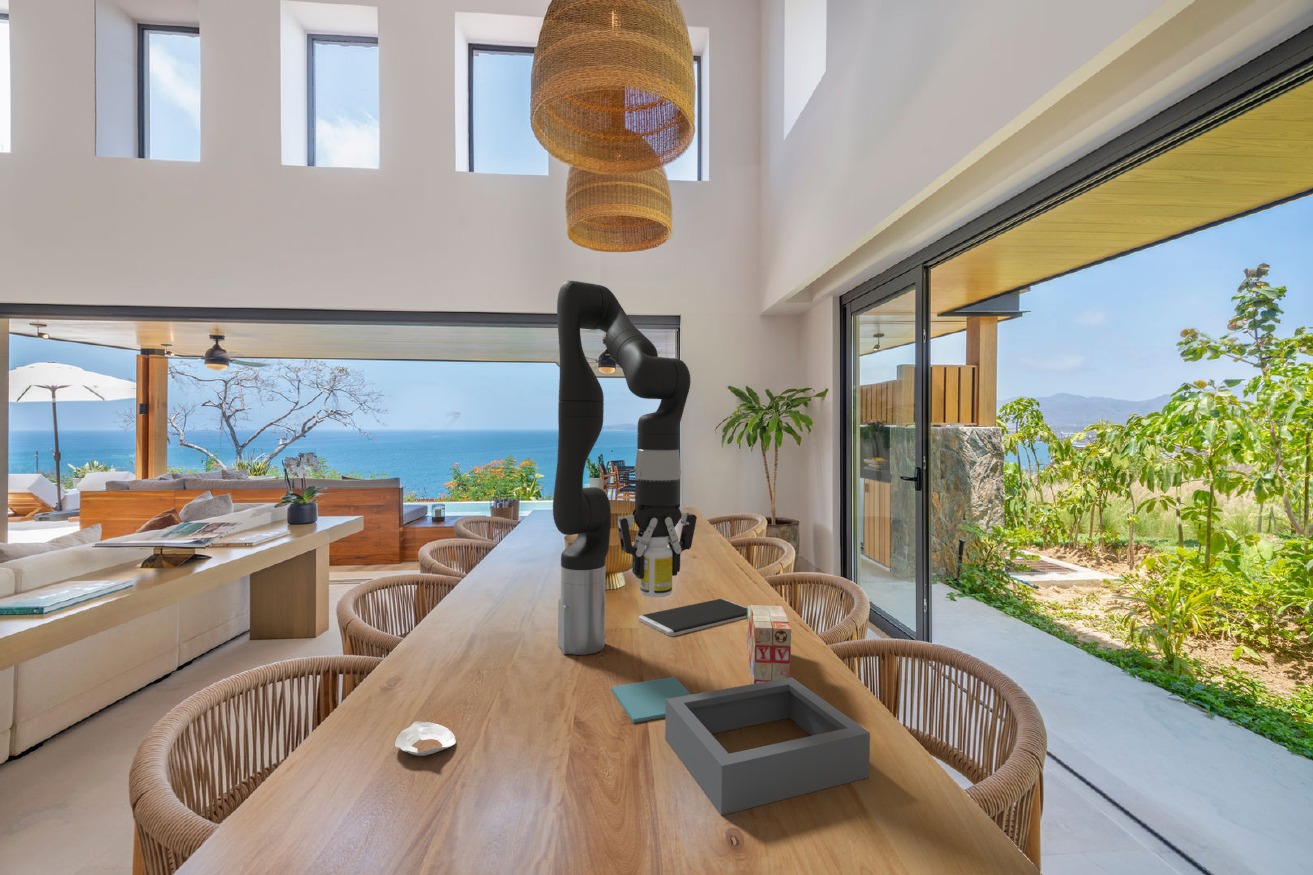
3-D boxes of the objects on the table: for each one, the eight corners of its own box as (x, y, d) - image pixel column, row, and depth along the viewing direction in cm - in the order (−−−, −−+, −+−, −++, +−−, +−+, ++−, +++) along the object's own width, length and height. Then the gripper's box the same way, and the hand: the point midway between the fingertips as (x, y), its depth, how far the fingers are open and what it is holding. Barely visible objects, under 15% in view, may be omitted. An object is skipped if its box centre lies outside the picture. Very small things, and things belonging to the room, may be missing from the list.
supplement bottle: (676, 590, 100) (677, 534, 100) (666, 599, 95) (667, 539, 95) (646, 587, 102) (647, 531, 102) (635, 595, 97) (636, 537, 96)
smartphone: (758, 617, 144) (758, 610, 144) (670, 639, 128) (670, 631, 128) (721, 603, 154) (721, 597, 154) (636, 622, 139) (637, 614, 139)
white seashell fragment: (403, 773, 77) (405, 753, 77) (386, 739, 86) (387, 721, 87) (464, 758, 81) (465, 739, 81) (441, 727, 91) (441, 710, 91)
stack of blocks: (746, 649, 122) (747, 590, 121) (776, 650, 121) (777, 591, 121) (753, 696, 100) (754, 626, 100) (790, 698, 100) (791, 627, 100)
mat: (633, 722, 91) (633, 719, 91) (611, 690, 102) (611, 686, 102) (702, 710, 95) (702, 706, 95) (674, 679, 106) (674, 676, 106)
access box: (721, 815, 70) (721, 765, 69) (665, 738, 86) (665, 698, 86) (869, 777, 77) (869, 732, 77) (791, 713, 94) (792, 677, 94)
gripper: (687, 473, 104) (686, 567, 104) (610, 475, 99) (608, 574, 99) (706, 477, 97) (704, 578, 97) (623, 479, 92) (622, 585, 92)
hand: (656, 575), depth 98 cm, fingers closed on supplement bottle, 5 cm apart
